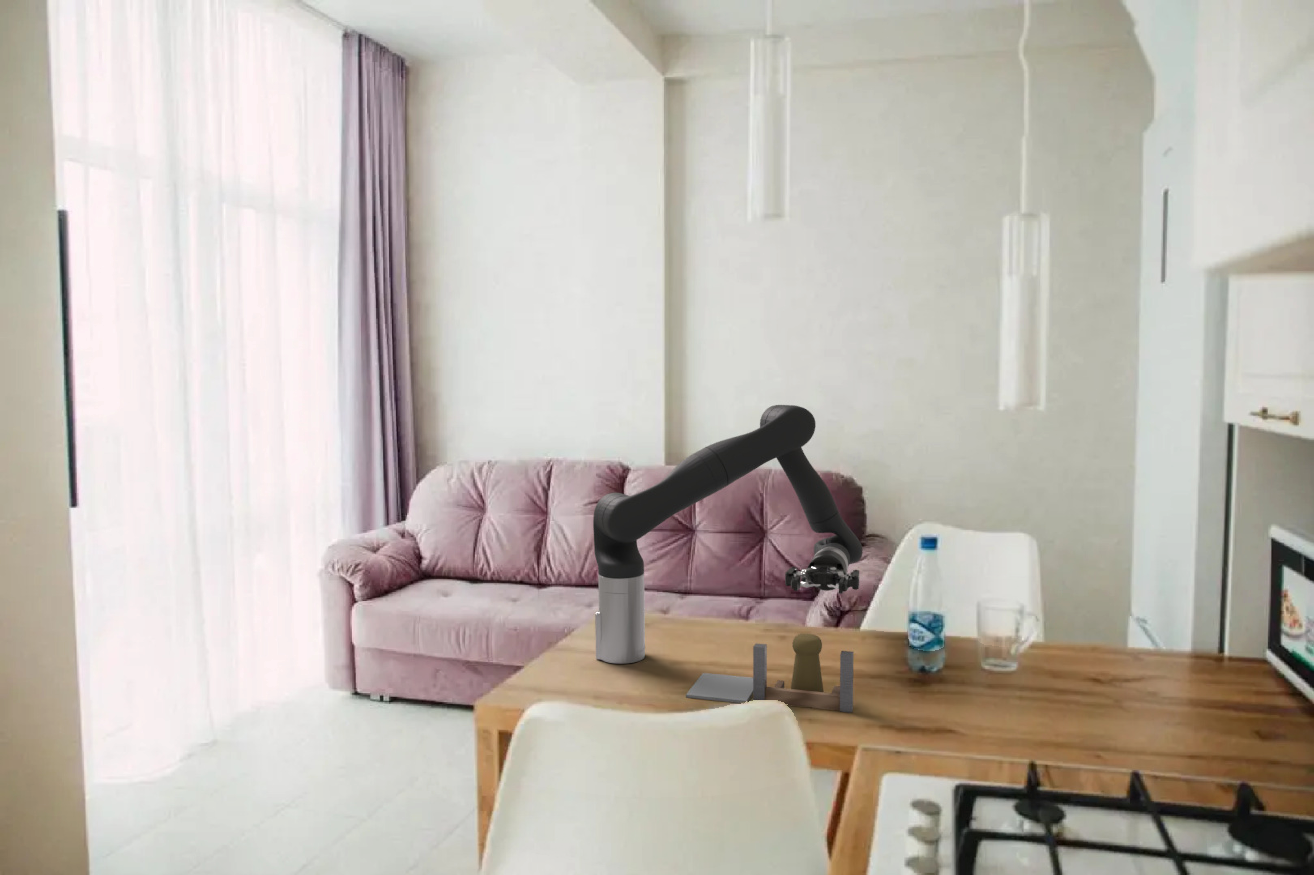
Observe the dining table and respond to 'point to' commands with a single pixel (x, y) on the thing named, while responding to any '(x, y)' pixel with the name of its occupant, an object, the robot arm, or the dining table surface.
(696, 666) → the dining table surface
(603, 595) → the robot arm
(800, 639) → the cork
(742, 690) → the grey rubber mat
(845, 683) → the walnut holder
